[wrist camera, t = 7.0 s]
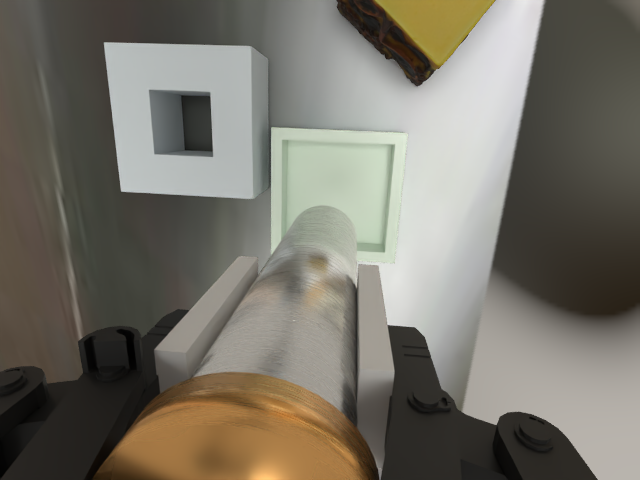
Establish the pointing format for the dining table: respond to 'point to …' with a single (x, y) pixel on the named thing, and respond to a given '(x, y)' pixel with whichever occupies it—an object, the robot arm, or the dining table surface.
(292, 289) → the pin
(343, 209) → the tray
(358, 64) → the dining table surface
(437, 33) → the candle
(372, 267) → the robot arm
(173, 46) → the block
